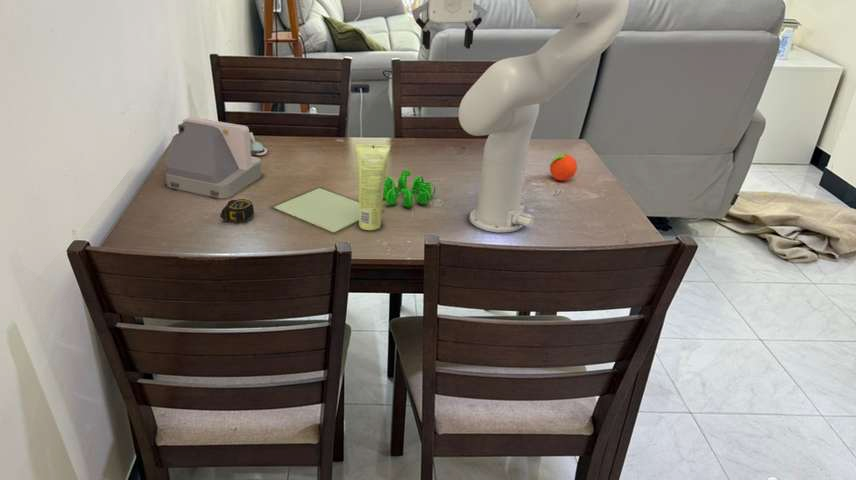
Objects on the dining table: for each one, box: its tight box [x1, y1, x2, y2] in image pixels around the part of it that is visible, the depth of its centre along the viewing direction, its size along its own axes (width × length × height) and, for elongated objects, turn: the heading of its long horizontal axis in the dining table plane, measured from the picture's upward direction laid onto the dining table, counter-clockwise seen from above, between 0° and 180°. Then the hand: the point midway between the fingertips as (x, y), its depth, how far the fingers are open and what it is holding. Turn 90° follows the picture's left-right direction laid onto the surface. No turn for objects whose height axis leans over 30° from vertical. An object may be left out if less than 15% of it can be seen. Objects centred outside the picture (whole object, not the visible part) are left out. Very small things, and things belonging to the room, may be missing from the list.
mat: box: [273, 187, 359, 233], centre depth 162 cm, size 20×16×1 cm
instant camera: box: [165, 116, 262, 199], centre depth 173 cm, size 21×21×15 cm
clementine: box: [549, 153, 578, 181], centre depth 178 cm, size 8×7×7 cm
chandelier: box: [383, 170, 436, 209], centre depth 167 cm, size 15×15×7 cm
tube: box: [355, 143, 391, 231], centre depth 150 cm, size 6×5×20 cm
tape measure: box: [219, 198, 255, 222], centre depth 157 cm, size 7×7×4 cm
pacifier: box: [249, 131, 268, 157], centre depth 194 cm, size 7×6×6 cm
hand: (446, 48), depth 158 cm, fingers open, 9 cm apart
